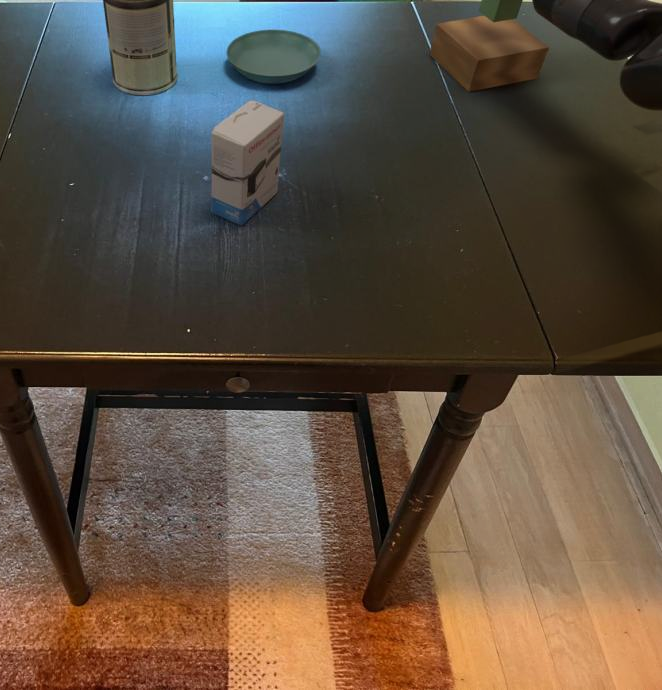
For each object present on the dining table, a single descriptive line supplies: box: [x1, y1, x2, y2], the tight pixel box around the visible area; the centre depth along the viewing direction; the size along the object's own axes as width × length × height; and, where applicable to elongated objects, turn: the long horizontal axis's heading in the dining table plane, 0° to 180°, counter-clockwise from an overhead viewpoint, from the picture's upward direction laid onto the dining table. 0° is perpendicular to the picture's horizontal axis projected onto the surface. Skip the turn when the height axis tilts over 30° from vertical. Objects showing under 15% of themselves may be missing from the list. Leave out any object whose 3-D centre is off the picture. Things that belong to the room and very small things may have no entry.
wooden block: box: [428, 15, 550, 93], centre depth 106 cm, size 12×12×5 cm
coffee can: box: [102, 0, 178, 96], centre depth 102 cm, size 10×10×14 cm
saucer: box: [226, 29, 322, 85], centre depth 108 cm, size 15×15×3 cm
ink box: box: [211, 99, 285, 227], centre depth 83 cm, size 8×5×12 cm, turn 143°
